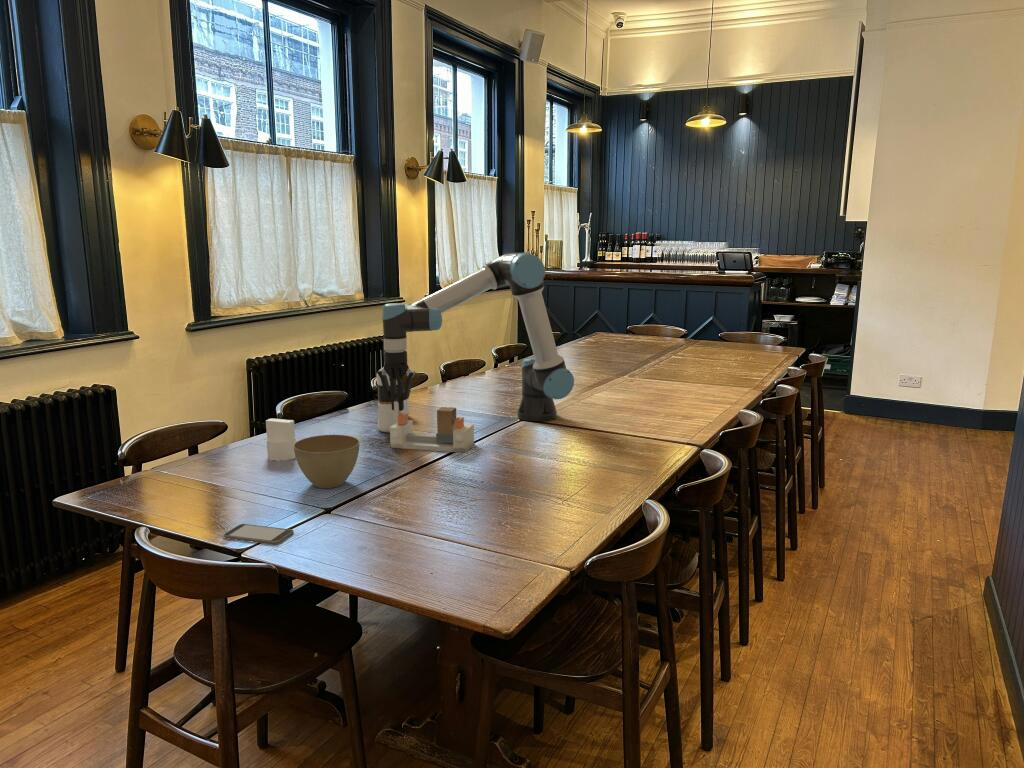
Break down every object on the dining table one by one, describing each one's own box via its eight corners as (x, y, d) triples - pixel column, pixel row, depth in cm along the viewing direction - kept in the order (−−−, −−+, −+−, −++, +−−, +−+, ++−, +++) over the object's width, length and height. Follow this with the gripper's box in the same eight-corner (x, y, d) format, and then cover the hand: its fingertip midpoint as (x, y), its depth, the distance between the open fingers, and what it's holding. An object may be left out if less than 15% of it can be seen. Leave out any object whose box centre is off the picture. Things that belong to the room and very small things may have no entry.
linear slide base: (474, 444, 247) (473, 415, 245) (464, 453, 238) (464, 423, 236) (402, 439, 254) (401, 411, 252) (390, 447, 244) (389, 418, 242)
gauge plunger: (408, 421, 248) (407, 413, 248) (403, 424, 245) (403, 416, 244) (402, 421, 249) (402, 412, 248) (397, 424, 245) (397, 415, 244)
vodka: (375, 427, 269) (371, 346, 263) (400, 425, 272) (397, 345, 266) (380, 434, 260) (376, 350, 254) (405, 431, 264) (402, 349, 257)
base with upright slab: (302, 454, 238) (300, 418, 235) (285, 462, 230) (283, 425, 227) (279, 451, 241) (276, 416, 238) (261, 459, 232) (258, 422, 230)
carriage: (458, 439, 246) (457, 407, 244) (453, 443, 241) (452, 411, 239) (441, 438, 247) (440, 406, 245) (436, 442, 242) (435, 410, 240)
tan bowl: (328, 499, 198) (326, 456, 195) (282, 487, 207) (279, 446, 204) (374, 480, 212) (372, 439, 210) (329, 469, 222) (327, 431, 219)
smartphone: (277, 542, 169) (221, 535, 173) (277, 546, 169) (222, 539, 173) (294, 529, 176) (241, 523, 180) (295, 533, 176) (241, 527, 180)
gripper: (418, 349, 244) (420, 418, 249) (381, 348, 247) (384, 415, 252) (409, 353, 237) (412, 423, 242) (372, 351, 240) (375, 421, 245)
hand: (398, 419), depth 247 cm, fingers closed
